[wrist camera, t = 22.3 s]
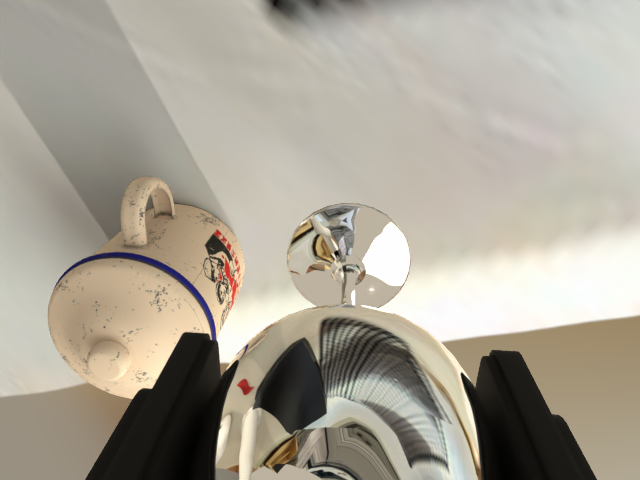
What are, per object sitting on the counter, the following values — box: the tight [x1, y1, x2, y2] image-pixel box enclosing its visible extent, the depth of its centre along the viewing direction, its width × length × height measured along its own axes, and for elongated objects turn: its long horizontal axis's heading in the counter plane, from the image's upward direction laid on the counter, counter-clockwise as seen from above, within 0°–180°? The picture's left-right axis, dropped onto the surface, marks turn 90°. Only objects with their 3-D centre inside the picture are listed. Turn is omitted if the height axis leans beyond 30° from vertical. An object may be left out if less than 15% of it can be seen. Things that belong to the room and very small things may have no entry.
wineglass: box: [186, 203, 506, 480], centre depth 12 cm, size 6×6×12 cm
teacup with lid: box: [48, 177, 245, 399], centre depth 27 cm, size 12×9×12 cm
